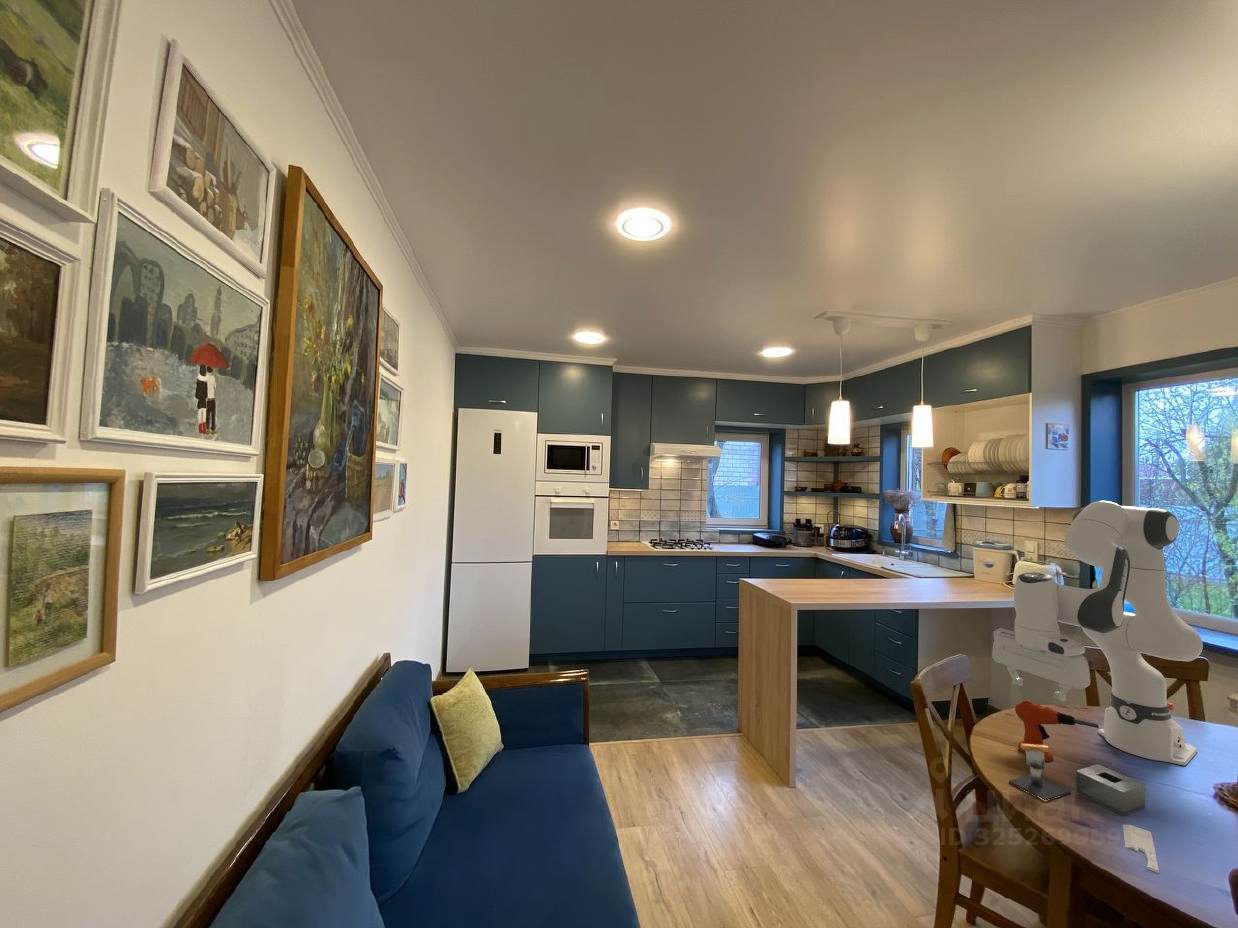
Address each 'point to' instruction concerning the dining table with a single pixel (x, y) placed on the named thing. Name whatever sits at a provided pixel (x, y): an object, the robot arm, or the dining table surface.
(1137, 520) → the robot arm
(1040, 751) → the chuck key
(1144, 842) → the cream flat piece
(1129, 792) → the block
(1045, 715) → the toy drill
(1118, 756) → the dining table surface
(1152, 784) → the dining table surface
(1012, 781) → the rubber mat
